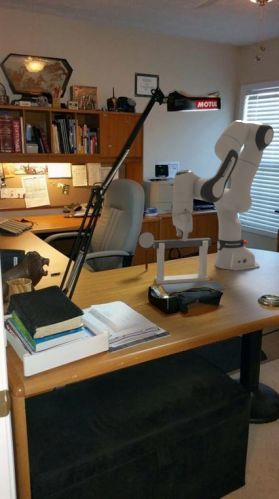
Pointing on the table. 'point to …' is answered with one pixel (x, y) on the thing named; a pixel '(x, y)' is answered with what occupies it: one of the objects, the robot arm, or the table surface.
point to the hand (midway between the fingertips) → (181, 238)
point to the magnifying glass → (146, 244)
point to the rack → (182, 278)
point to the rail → (181, 243)
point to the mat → (183, 286)
